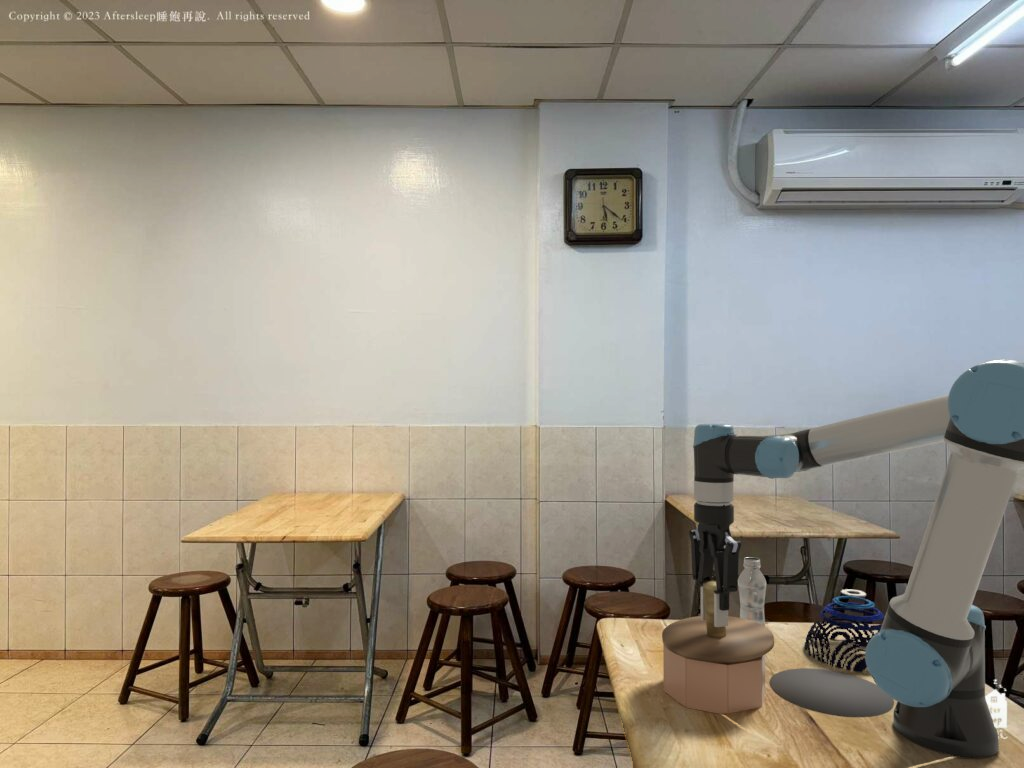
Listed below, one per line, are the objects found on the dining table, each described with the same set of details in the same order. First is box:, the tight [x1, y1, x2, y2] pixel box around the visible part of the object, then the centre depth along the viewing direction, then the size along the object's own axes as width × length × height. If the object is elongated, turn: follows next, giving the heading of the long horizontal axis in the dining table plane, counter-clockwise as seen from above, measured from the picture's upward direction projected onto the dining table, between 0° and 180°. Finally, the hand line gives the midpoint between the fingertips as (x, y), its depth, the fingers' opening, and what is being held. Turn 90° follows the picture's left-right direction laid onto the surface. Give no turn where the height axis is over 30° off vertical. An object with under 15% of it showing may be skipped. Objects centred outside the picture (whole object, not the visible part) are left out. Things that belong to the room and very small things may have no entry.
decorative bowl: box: [803, 588, 885, 673], centre depth 153 cm, size 20×20×14 cm
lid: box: [661, 580, 775, 663], centre depth 134 cm, size 21×21×11 cm
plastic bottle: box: [738, 556, 767, 627], centre depth 159 cm, size 6×7×20 cm
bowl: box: [662, 644, 766, 716], centre depth 134 cm, size 18×18×9 cm
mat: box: [769, 667, 895, 718], centre depth 134 cm, size 22×22×1 cm
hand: (714, 622), depth 134 cm, fingers closed on lid, 4 cm apart
